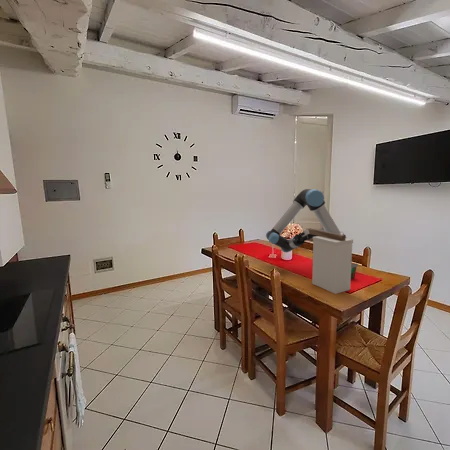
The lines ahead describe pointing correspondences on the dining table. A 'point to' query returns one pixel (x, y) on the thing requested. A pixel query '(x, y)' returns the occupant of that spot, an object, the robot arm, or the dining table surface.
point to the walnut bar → (327, 234)
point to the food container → (353, 270)
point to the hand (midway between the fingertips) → (316, 230)
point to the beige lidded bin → (332, 264)
